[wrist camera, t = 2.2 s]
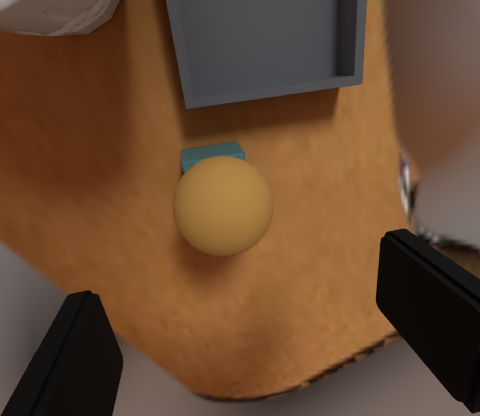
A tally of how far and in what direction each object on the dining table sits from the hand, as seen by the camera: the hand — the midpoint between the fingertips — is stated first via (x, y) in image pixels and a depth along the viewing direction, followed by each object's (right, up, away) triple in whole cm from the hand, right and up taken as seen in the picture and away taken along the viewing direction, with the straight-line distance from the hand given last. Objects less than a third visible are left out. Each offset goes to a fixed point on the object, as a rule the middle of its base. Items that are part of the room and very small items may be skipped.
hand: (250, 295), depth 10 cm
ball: (-1, +3, +5) cm, 6 cm away
